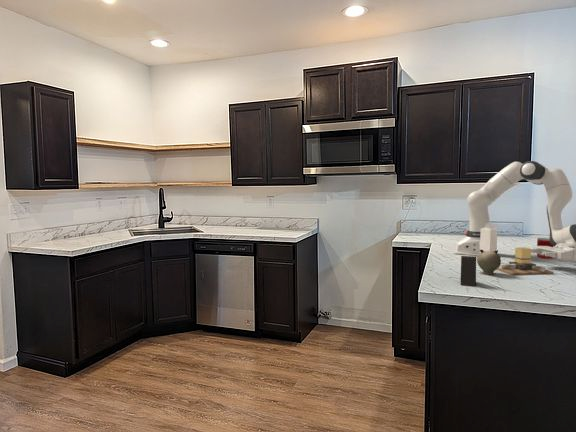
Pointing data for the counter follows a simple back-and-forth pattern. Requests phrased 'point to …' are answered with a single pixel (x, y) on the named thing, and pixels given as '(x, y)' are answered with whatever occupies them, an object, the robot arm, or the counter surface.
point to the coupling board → (522, 269)
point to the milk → (488, 238)
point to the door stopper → (468, 270)
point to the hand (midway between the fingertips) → (537, 252)
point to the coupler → (522, 255)
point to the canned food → (544, 243)
